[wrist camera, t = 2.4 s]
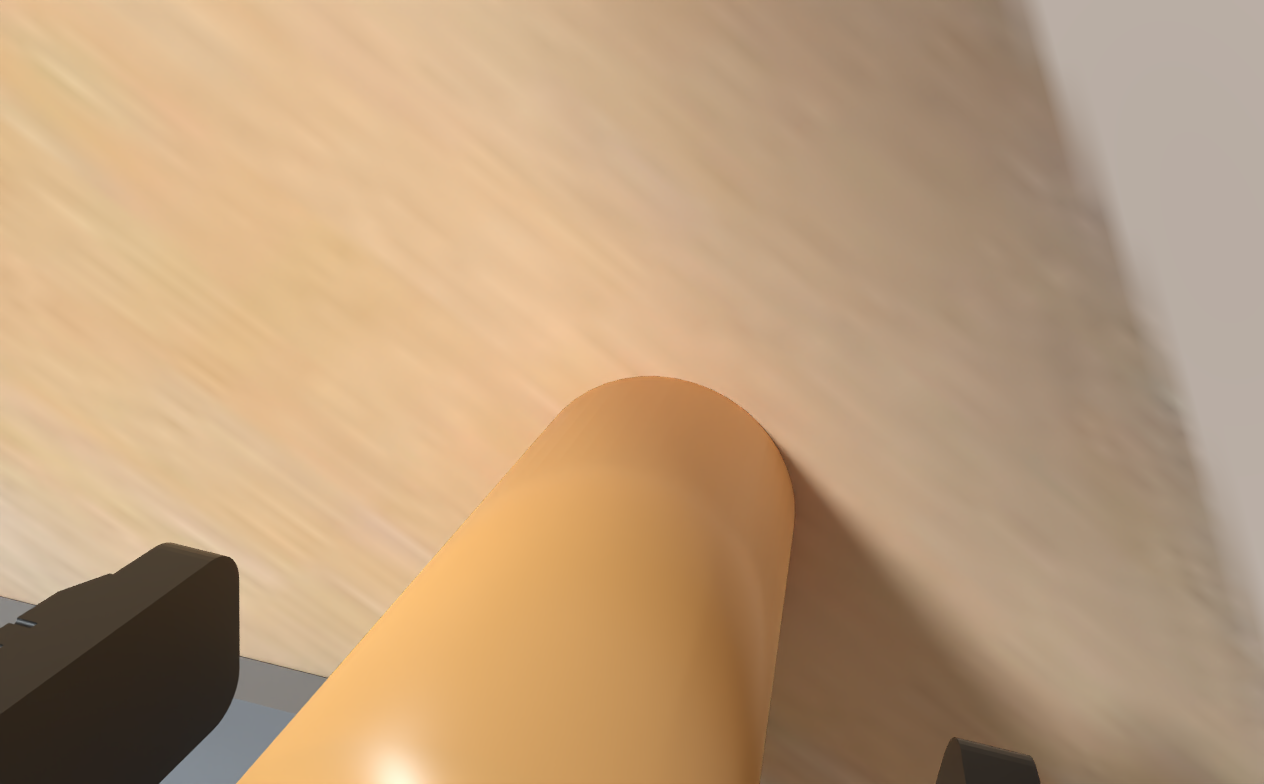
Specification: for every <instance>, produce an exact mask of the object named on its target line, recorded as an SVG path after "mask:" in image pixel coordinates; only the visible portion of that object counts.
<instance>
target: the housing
mask: <svg viewBox="0 0 1264 784" xmlns="http://www.w3.org/2000/svg"><path fill="white" fill-rule="evenodd" d="M35 606H36V605H32V604H28V603H24V602H20V601H16V600H12V599H8V598H4V597H0V628H1V627H3V626H4V625H6V624H8V623H12V624H15V622H16V621H17V617H19V616H20V615H22V614H24V613H25V612H27V611H28V610H30V609H32V608H33V607H35ZM327 679H328V678H324V677H320V676H316V675H312V674H308V673H304V672H300V671H296V670H292V669H288V668H284V667H280V666H276V665H272V664H268V663H264V662H260V661H256V660H252V659H248V658H244V657H240V670H239V680H238V685H237V689H236V692H235V695H234V698H233V700H232V702H231V705H230V707H229V709H228V710H227V712H226V714H225V716H224V717H223V719H222V720H221V721H220V723H219V724H218V725H217V726H216V728H215V729H214V730H213V731H212V732H211V733H210V734H209V735H208V736H207V737H206V738H205V739H204V740H203V741H202V742H201V743H200V744H199V745H198V746H197V747H196V748H195V749H194V750H193V751H192V752H191V753H190V754H189V755H187V756H186V757H185V758H184V759H183V760H182V761H181V762H180V763H179V764H178V765H177V766H176V767H175V768H174V769H173V770H172V771H171V772H170V773H169V774H168V775H167V776H166V777H165V778H164V779H163V780H162V781H161V782H160V783H159V784H236V783H237V782H238V781H239V780H240V779H241V777H242V776H243V775H244V774H245V773H246V772H247V771H248V769H249V768H250V767H251V766H252V765H253V764H254V763H255V761H256V760H257V759H258V758H259V757H260V756H261V755H262V753H263V752H264V751H265V750H266V749H267V748H268V747H269V745H270V744H271V743H272V742H273V741H274V740H275V738H276V737H277V736H278V735H279V734H280V733H281V732H282V730H283V729H284V728H285V727H286V726H287V725H288V724H289V722H290V721H291V720H292V719H293V718H294V717H295V716H296V714H297V713H298V712H299V711H300V710H301V709H302V708H303V706H304V705H305V704H306V703H307V702H308V701H309V700H310V698H311V697H312V696H313V695H314V694H315V693H316V691H317V690H318V689H319V688H320V687H321V686H322V685H323V683H324V682H325V681H326V680H327Z"/></svg>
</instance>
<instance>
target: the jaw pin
mask: <svg viewBox="0 0 1264 784" xmlns="http://www.w3.org/2000/svg"><path fill="white" fill-rule="evenodd" d="M794 522H795V499H794V493H793V488H792V482H791V479H790V476H789V473H788V470H787V467H786V465H785V463H784V461H783V458H782V456H781V454H780V452H779V450H778V449H777V447H776V446H775V444H774V443H773V441H772V439H771V438H770V436H769V435H768V434H767V433H766V432H765V430H764V429H763V428H762V427H761V426H760V425H759V423H758V422H757V421H756V420H755V419H754V418H753V417H751V416H750V415H749V414H748V413H747V412H746V411H745V410H744V409H742V408H741V407H740V406H738V405H737V404H735V403H734V402H732V401H731V400H730V399H728V398H726V397H724V396H723V395H721V394H719V393H717V392H715V391H713V390H711V389H709V388H706V387H703V386H701V385H698V384H696V383H692V382H688V381H684V380H680V379H676V378H668V377H659V376H640V377H632V378H625V379H620V380H617V381H613V382H609V383H606V384H603V385H601V386H599V387H596V388H594V389H592V390H590V391H588V392H586V393H585V394H583V395H581V396H580V397H578V398H577V399H575V400H574V401H573V402H571V403H570V404H569V405H568V406H567V407H565V408H564V409H563V410H562V411H561V412H560V413H559V414H558V416H557V417H556V418H555V419H554V420H553V421H552V422H551V423H550V424H549V426H548V427H547V428H546V429H545V430H544V431H543V432H542V434H541V435H540V436H539V437H538V438H537V439H536V441H535V442H534V443H533V444H532V445H531V446H530V447H529V449H528V450H527V451H526V452H525V453H524V454H523V455H522V457H521V458H520V459H519V460H518V461H517V462H516V463H515V465H514V466H513V467H512V468H511V469H510V470H509V471H508V473H507V474H506V475H505V476H504V477H503V478H502V479H501V481H500V482H499V483H498V484H497V485H496V486H495V488H494V489H493V490H492V491H491V492H490V493H489V494H488V496H487V497H486V498H485V499H484V500H483V501H482V502H481V504H480V505H479V506H478V507H477V508H476V509H475V510H474V512H473V513H472V514H471V515H470V516H469V517H468V518H467V520H466V521H465V522H464V523H463V524H462V525H461V526H460V528H459V529H458V530H457V531H456V532H455V533H454V534H453V536H452V537H451V538H450V539H449V540H448V541H447V543H446V544H445V545H444V546H443V547H442V548H441V549H440V551H439V552H438V553H437V554H436V555H435V556H434V557H433V559H432V560H431V561H430V562H429V563H428V564H427V565H426V567H425V568H424V569H423V570H422V571H421V572H420V573H419V575H418V576H417V577H416V578H415V579H414V580H413V581H412V583H411V584H410V585H409V586H408V587H407V588H406V590H405V591H404V592H403V593H402V594H401V595H400V596H399V598H398V599H397V600H396V601H395V602H394V603H393V604H392V606H391V607H390V608H389V609H388V610H387V611H386V612H385V614H384V615H383V616H382V617H381V618H380V619H379V620H378V622H377V623H376V624H375V625H374V626H373V627H372V628H371V630H370V631H369V632H368V633H367V634H366V635H365V636H364V638H363V639H362V640H361V641H360V642H359V643H358V645H357V646H356V647H355V648H354V649H353V650H352V651H351V653H350V654H349V655H348V656H347V657H346V658H345V659H344V661H343V662H342V663H341V664H340V665H339V666H338V667H337V669H336V670H335V671H334V672H333V673H332V674H331V675H330V677H329V678H328V679H327V680H326V681H325V682H324V683H323V685H322V686H321V687H320V688H319V689H318V690H317V691H316V693H315V694H314V695H313V696H312V697H311V698H310V700H309V701H308V702H307V703H306V704H305V705H304V706H303V708H302V709H301V710H300V711H299V712H298V713H297V714H296V716H295V717H294V718H293V719H292V720H291V721H290V722H289V724H288V725H287V726H286V727H285V728H284V729H283V730H282V732H281V733H280V734H279V735H278V736H277V737H276V738H275V740H274V741H273V742H272V743H271V744H270V745H269V747H268V748H267V749H266V750H265V751H264V752H263V753H262V755H261V756H260V757H259V758H258V759H257V760H256V761H255V763H254V764H253V765H252V766H251V767H250V768H249V769H248V771H247V772H246V773H245V774H244V775H243V776H242V777H241V779H240V780H239V781H238V782H237V783H236V784H760V777H761V770H762V762H763V755H764V747H765V740H766V732H767V725H768V717H769V710H770V702H771V695H772V687H773V680H774V672H775V665H776V657H777V650H778V643H779V635H780V628H781V620H782V613H783V605H784V598H785V590H786V583H787V575H788V568H789V560H790V553H791V545H792V538H793V530H794Z"/></svg>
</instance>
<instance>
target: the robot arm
mask: <svg viewBox="0 0 1264 784" xmlns="http://www.w3.org/2000/svg"><path fill="white" fill-rule="evenodd" d="M239 670H240V651H239V572H238V568H237V565H236V563H235V562H234V561H233V559H231V558H230V557H227V556H223V555H219V554H215V553H211V552H207V551H203V550H199V549H194V548H190V547H186V546H182V545H178V544H174V543H163V544H160V545H158V546H156V547H155V548H153V549H151V550H150V551H148V552H147V553H145V554H144V555H142V556H141V557H139V558H138V559H136V560H135V561H133V562H131V563H130V564H128V565H127V566H125V567H124V568H122V569H121V570H119V571H118V572H116V573H114V574H107V575H104V576H101V577H99V578H96V579H93V580H90V581H87V582H84V583H82V584H79V585H76V586H73V587H70V588H67V589H65V590H62V591H59V592H57V593H55V594H54V595H52V596H51V597H49V598H47V599H46V600H44V601H43V602H41V603H40V604H38V605H36V606H35V607H33V608H32V609H30V610H28V611H27V612H25V613H24V614H22V615H20V616H19V617H17V621H16V622H15V624H12V623H8V624H6V625H4V626H3V627H1V628H0V784H159V783H160V782H161V781H162V780H163V779H164V778H165V777H166V776H167V775H168V774H169V773H170V772H171V771H172V770H173V769H174V768H175V767H176V766H177V765H178V764H179V763H180V762H181V761H182V760H183V759H184V758H185V757H186V756H187V755H189V754H190V753H191V752H192V751H193V750H194V749H195V748H196V747H197V746H198V745H199V744H200V743H201V742H202V741H203V740H204V739H205V738H206V737H207V736H208V735H209V734H210V733H211V732H212V731H213V730H214V729H215V728H216V726H217V725H218V724H219V723H220V721H221V720H222V719H223V717H224V716H225V714H226V712H227V710H228V709H229V707H230V705H231V702H232V700H233V698H234V695H235V692H236V689H237V685H238V680H239ZM936 784H1040V780H1039V776H1038V772H1037V769H1036V765H1035V763H1034V760H1033V759H1032V757H1031V756H1029V755H1025V754H1021V753H1017V752H1013V751H1009V750H1004V749H1000V748H996V747H992V746H988V745H984V744H980V743H976V742H972V741H968V740H964V739H960V738H956V737H954V738H952V739H951V740H950V742H949V744H948V746H947V748H946V751H945V754H944V757H943V760H942V764H941V767H940V771H939V774H938V778H937V781H936Z"/></svg>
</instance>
